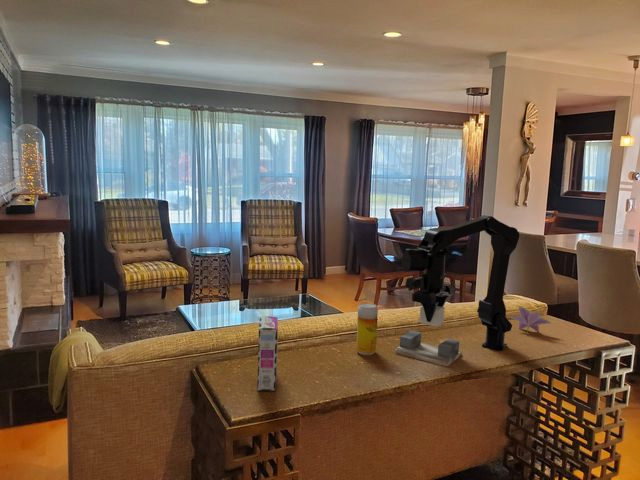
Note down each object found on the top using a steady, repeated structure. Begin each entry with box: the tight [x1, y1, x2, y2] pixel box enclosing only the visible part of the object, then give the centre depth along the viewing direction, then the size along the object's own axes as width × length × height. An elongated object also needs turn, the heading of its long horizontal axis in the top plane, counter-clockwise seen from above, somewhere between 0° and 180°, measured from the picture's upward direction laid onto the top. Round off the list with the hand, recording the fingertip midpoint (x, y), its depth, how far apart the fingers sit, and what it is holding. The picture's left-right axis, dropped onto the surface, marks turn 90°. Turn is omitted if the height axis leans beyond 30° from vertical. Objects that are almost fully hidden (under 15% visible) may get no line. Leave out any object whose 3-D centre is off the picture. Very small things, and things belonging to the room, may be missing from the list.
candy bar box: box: [257, 316, 279, 392], centre depth 132 cm, size 11×5×16 cm, turn 5°
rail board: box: [395, 330, 462, 367], centre depth 156 cm, size 12×16×5 cm
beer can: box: [355, 302, 379, 356], centre depth 156 cm, size 6×6×15 cm
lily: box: [510, 306, 552, 337], centre depth 180 cm, size 12×12×10 cm
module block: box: [419, 305, 445, 328], centre depth 156 cm, size 4×6×5 cm
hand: (432, 319), depth 156 cm, fingers closed on module block, 4 cm apart
